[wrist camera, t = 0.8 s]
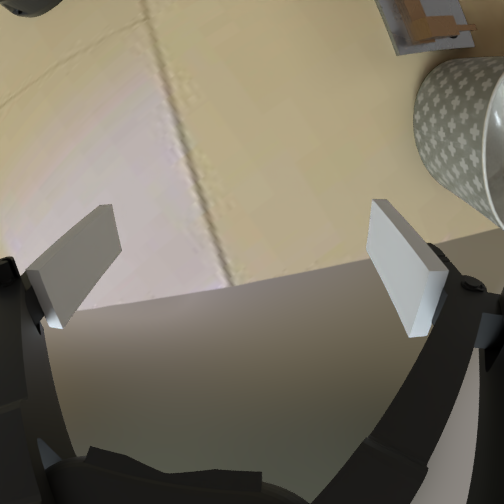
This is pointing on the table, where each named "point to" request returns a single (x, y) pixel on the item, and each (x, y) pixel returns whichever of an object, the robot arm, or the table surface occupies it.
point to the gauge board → (429, 11)
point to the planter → (465, 131)
